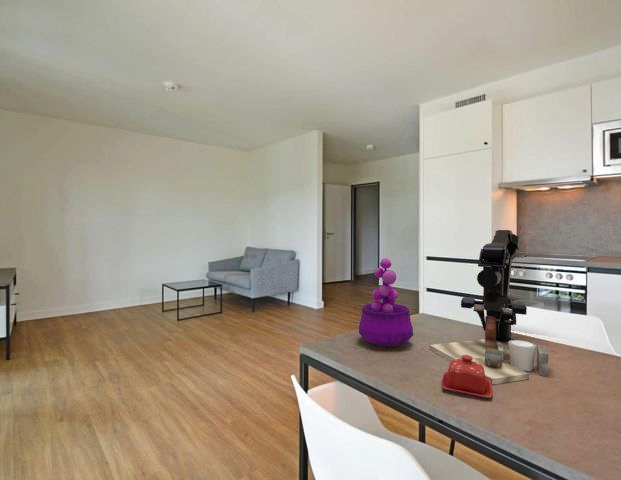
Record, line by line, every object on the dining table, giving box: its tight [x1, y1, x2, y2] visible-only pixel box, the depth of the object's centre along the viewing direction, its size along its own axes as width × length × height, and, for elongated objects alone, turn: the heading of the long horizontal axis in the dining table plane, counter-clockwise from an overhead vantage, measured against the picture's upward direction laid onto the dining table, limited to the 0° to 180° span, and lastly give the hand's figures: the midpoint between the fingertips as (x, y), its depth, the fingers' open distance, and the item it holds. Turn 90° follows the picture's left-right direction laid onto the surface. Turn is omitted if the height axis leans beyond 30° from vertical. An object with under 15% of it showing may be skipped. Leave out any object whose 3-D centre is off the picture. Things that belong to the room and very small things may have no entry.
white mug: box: [508, 339, 537, 372], centre depth 101 cm, size 7×7×7 cm
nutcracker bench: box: [428, 338, 549, 386], centre depth 105 cm, size 24×27×6 cm
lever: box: [484, 315, 504, 367], centre depth 106 cm, size 22×5×9 cm, turn 155°
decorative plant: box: [358, 257, 414, 347], centre depth 121 cm, size 19×18×30 cm
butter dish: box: [440, 355, 493, 399], centre depth 88 cm, size 12×12×8 cm
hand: (491, 331), depth 114 cm, fingers open, 4 cm apart
